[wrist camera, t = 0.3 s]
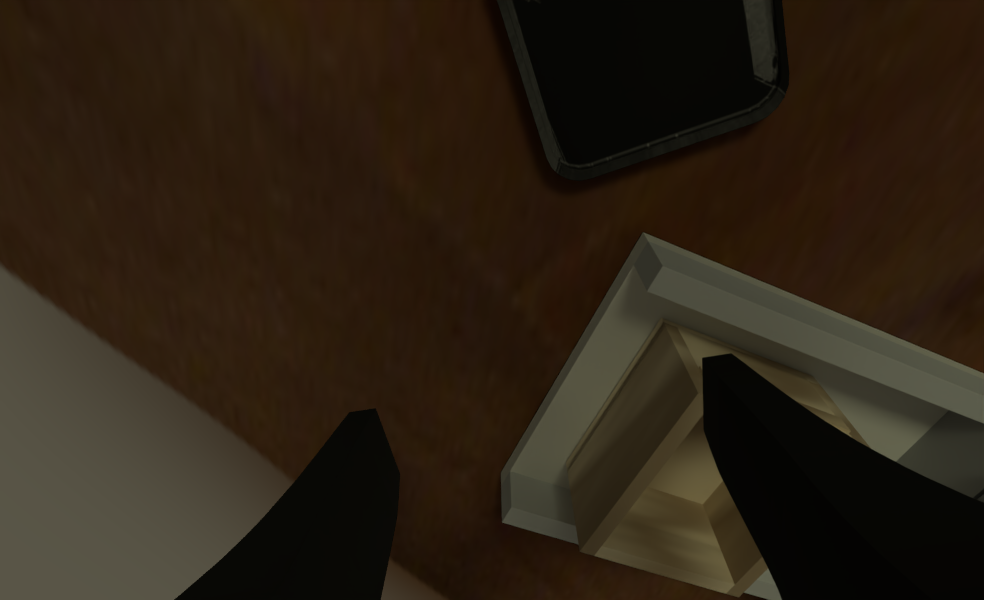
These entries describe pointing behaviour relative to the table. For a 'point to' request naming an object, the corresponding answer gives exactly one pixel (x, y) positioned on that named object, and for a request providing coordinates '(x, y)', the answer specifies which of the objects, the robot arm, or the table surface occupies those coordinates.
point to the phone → (643, 74)
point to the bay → (768, 333)
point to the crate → (673, 466)
